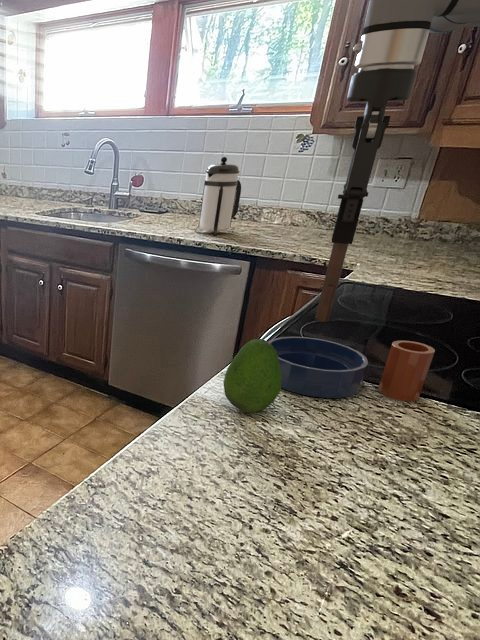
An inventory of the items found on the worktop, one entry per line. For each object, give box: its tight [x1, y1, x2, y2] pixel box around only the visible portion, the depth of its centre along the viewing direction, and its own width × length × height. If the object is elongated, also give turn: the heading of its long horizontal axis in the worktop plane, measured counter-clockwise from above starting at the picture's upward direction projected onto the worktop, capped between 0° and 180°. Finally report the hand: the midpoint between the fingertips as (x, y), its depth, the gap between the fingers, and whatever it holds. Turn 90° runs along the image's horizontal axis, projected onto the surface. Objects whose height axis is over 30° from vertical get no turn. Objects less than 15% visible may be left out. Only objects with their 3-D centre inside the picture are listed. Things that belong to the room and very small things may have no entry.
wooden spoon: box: [314, 243, 349, 323], centre depth 82 cm, size 3×2×24 cm, turn 149°
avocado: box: [223, 338, 282, 413], centre depth 80 cm, size 8×8×12 cm
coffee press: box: [194, 156, 242, 237], centre depth 216 cm, size 17×16×30 cm
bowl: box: [268, 336, 369, 399], centre depth 90 cm, size 15×15×6 cm
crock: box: [377, 340, 436, 402], centre depth 84 cm, size 5×6×9 cm
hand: (341, 241), depth 82 cm, fingers closed on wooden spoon, 2 cm apart
